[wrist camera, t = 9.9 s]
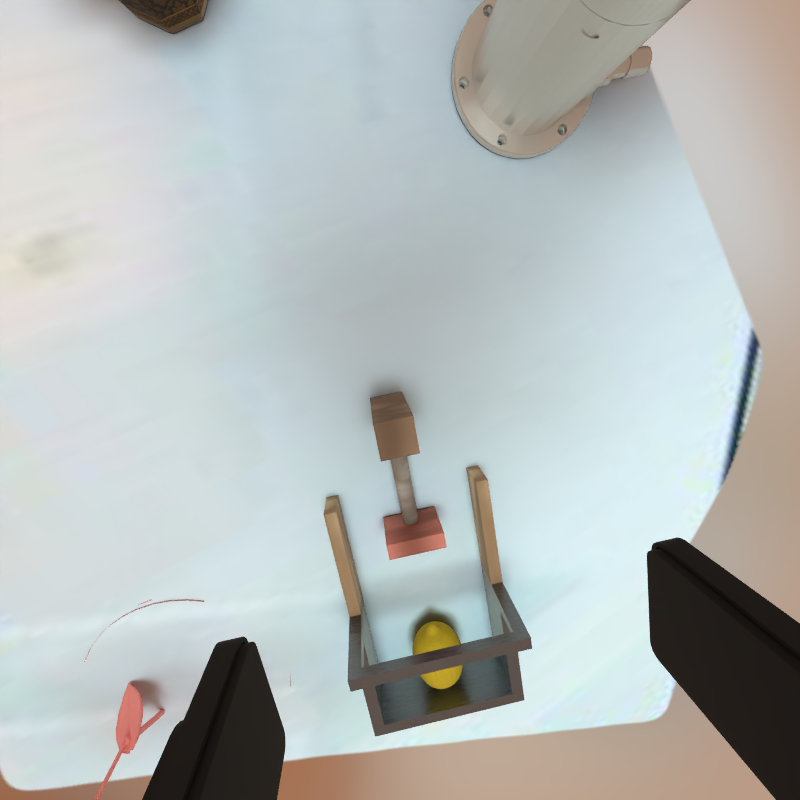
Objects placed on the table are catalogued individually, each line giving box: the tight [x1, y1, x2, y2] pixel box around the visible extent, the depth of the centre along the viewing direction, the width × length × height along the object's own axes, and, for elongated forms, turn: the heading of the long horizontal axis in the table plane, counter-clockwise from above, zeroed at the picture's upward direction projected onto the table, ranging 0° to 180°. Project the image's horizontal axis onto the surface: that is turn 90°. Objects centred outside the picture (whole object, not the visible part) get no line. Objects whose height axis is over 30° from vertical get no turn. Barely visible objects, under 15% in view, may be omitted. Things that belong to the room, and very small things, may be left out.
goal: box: [348, 564, 532, 736], centre depth 43 cm, size 16×13×11 cm
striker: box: [370, 392, 446, 560], centre depth 38 cm, size 6×15×9 cm, turn 10°
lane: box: [324, 466, 502, 617], centre depth 43 cm, size 16×12×4 cm
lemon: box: [413, 621, 463, 689], centre depth 46 cm, size 6×6×8 cm
